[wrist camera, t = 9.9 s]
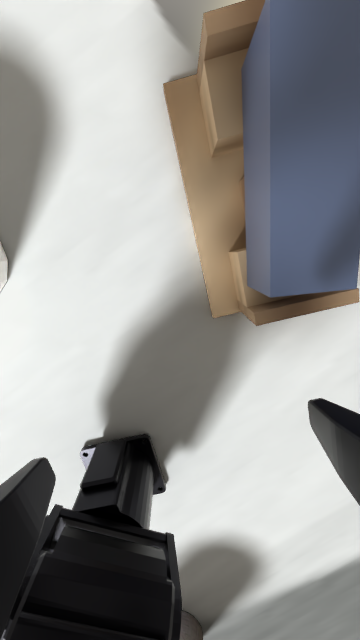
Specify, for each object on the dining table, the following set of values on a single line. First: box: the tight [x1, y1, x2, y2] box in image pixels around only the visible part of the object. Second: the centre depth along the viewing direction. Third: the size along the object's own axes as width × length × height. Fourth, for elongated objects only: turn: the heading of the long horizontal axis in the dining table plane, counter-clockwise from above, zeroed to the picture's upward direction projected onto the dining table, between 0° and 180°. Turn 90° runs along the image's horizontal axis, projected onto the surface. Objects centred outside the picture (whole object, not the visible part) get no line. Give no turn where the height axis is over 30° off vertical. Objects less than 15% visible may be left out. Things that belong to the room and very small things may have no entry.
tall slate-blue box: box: [241, 0, 360, 297], centre depth 12 cm, size 11×4×4 cm, turn 6°
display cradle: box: [163, 0, 359, 326], centre depth 15 cm, size 10×15×5 cm, turn 14°
